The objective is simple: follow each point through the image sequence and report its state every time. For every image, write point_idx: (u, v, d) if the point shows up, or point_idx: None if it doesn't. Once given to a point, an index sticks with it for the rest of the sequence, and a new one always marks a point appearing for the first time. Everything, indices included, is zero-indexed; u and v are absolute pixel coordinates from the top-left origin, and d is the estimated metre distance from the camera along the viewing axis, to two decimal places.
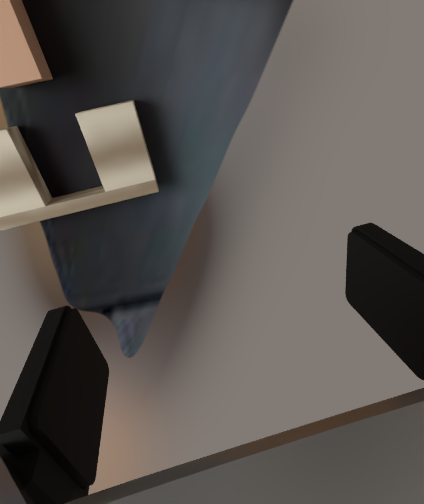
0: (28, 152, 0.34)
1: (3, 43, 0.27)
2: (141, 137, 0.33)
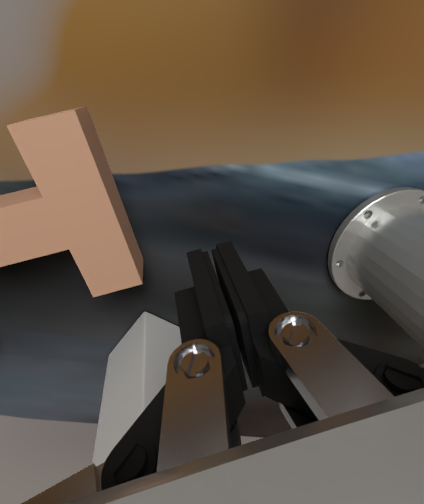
0: None
1: None
2: None
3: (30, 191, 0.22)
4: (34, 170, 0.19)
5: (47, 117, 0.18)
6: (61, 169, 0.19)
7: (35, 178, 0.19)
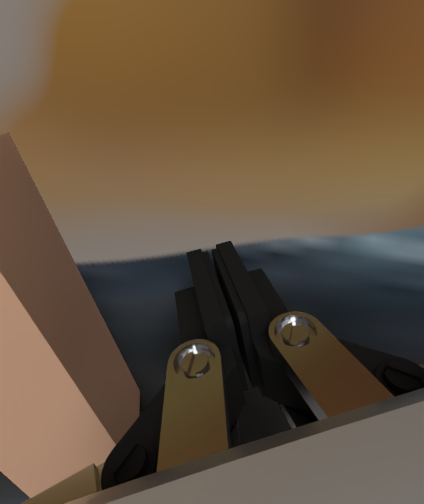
0: None
1: None
2: None
3: None
4: None
5: None
6: None
7: None
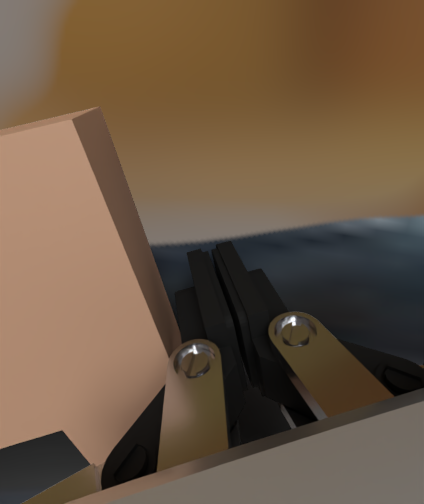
0: None
1: None
2: None
3: None
4: None
5: None
6: (38, 279, 0.07)
7: None
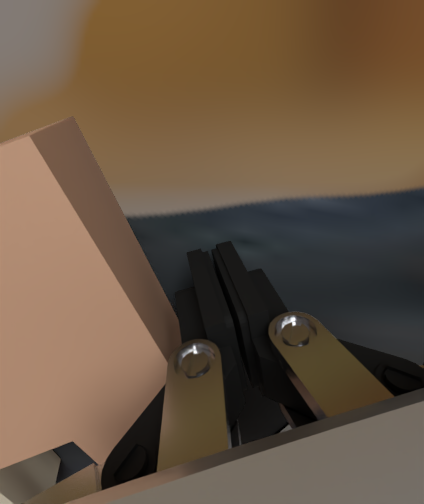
0: None
1: None
2: None
3: None
4: None
5: None
6: (23, 298, 0.07)
7: None
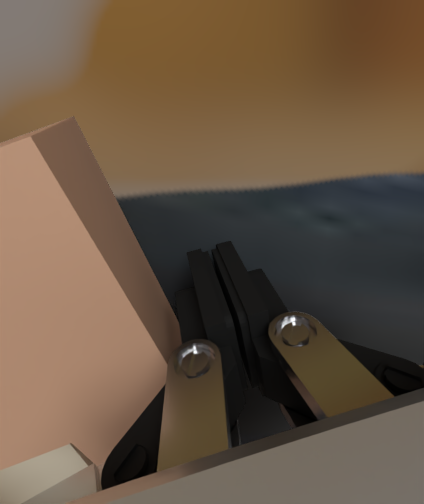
0: None
1: None
2: None
3: None
4: None
5: None
6: (22, 300, 0.07)
7: None
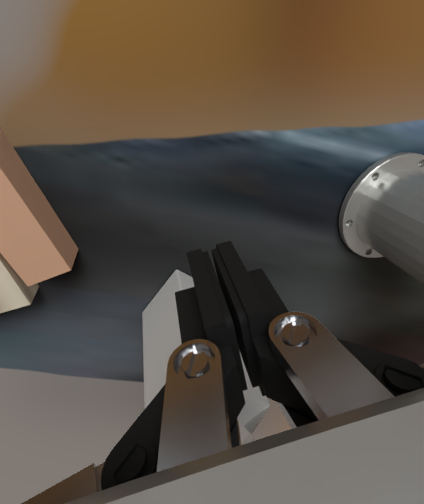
0: None
1: None
2: None
3: None
4: None
5: None
6: None
7: None
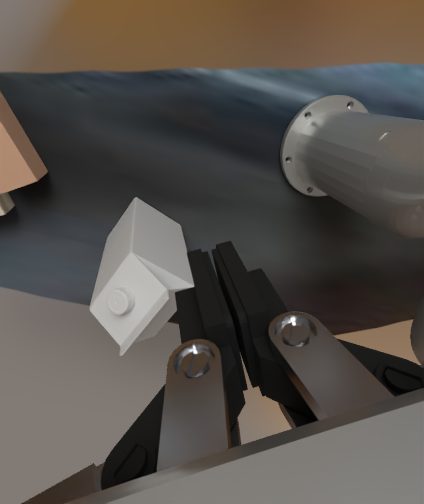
0: None
1: None
2: None
3: None
4: None
5: None
6: None
7: None
